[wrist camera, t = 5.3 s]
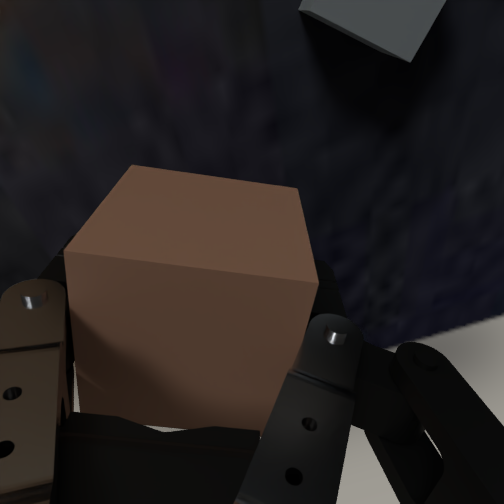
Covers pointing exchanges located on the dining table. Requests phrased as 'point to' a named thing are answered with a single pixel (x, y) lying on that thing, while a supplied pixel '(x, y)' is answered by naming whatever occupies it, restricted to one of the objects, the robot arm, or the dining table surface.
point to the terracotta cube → (189, 299)
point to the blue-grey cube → (379, 22)
